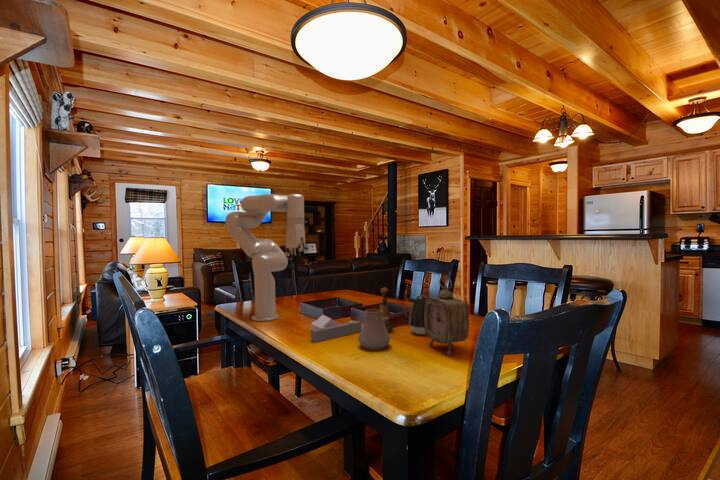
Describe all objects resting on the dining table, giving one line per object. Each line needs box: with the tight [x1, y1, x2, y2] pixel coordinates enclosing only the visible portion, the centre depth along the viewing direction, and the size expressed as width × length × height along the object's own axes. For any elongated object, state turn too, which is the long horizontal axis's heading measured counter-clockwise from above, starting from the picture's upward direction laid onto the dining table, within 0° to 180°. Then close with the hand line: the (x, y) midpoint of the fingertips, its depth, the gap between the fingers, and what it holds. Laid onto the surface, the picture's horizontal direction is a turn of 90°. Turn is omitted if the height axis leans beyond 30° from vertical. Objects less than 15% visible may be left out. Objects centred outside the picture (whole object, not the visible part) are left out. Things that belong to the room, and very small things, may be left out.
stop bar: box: [310, 320, 362, 344], centre depth 137 cm, size 3×22×5 cm, turn 129°
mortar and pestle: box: [379, 286, 394, 334], centre depth 144 cm, size 7×6×18 cm
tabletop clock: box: [424, 276, 470, 356], centre depth 119 cm, size 14×9×25 cm, turn 22°
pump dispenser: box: [408, 294, 428, 336], centre depth 140 cm, size 10×10×15 cm
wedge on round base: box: [311, 314, 339, 330], centre depth 144 cm, size 9×7×13 cm
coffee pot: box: [357, 308, 411, 351], centre depth 120 cm, size 21×12×15 cm, turn 44°
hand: (296, 264), depth 154 cm, fingers closed
